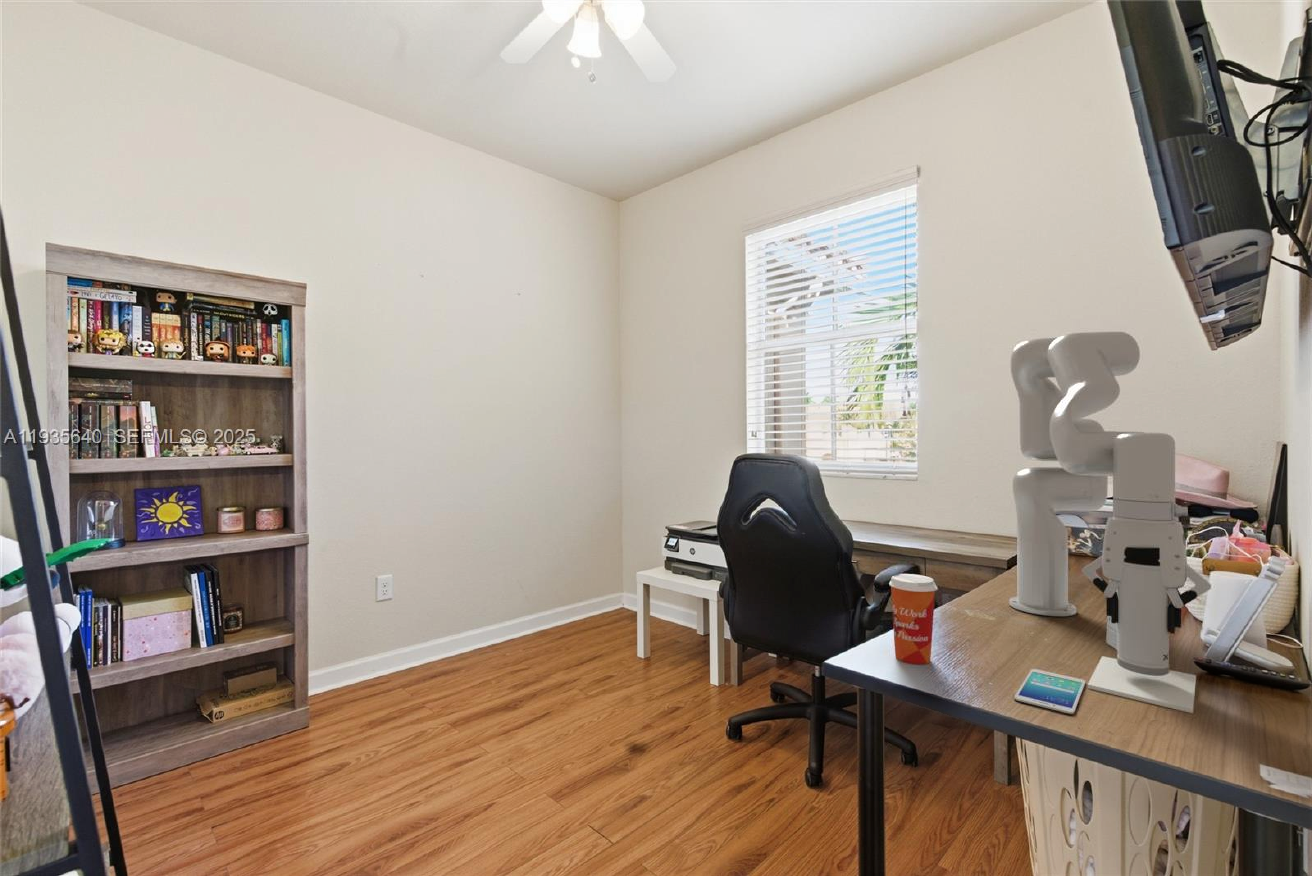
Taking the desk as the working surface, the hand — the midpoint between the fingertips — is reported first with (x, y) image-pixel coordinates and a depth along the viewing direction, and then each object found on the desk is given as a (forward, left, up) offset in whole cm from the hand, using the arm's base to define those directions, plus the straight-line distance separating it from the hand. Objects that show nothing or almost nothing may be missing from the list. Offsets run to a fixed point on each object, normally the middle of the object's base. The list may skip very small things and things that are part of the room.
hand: (1142, 625), depth 93 cm
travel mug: (0, 0, -7) cm, 7 cm away
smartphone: (+13, -10, -10) cm, 19 cm away
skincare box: (-16, -2, -9) cm, 19 cm away
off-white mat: (0, 0, -9) cm, 9 cm away
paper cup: (+14, -30, -9) cm, 34 cm away
